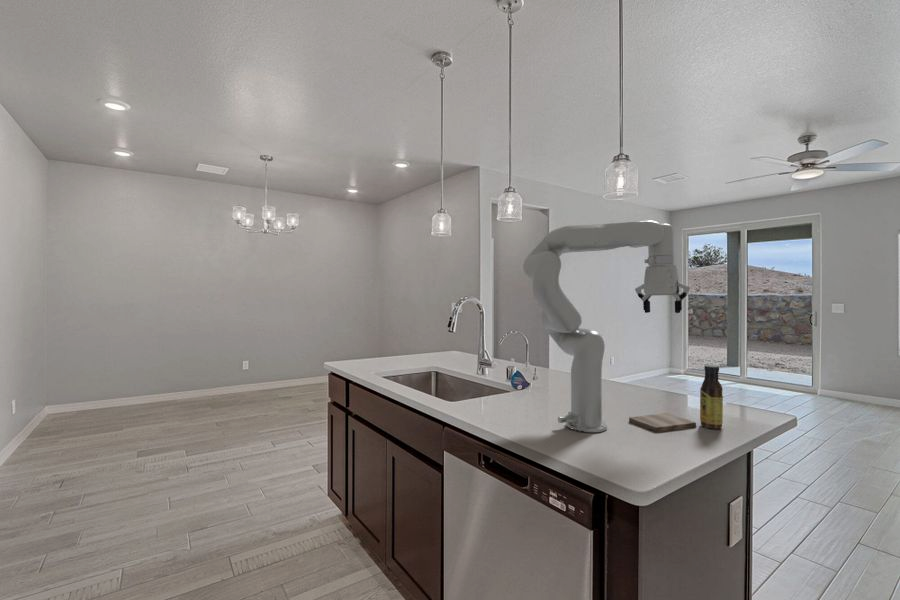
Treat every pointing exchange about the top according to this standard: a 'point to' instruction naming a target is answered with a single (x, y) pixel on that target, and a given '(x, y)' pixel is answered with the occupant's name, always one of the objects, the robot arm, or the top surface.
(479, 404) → the top surface
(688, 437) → the top surface
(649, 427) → the walnut board
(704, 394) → the sauce bottle
